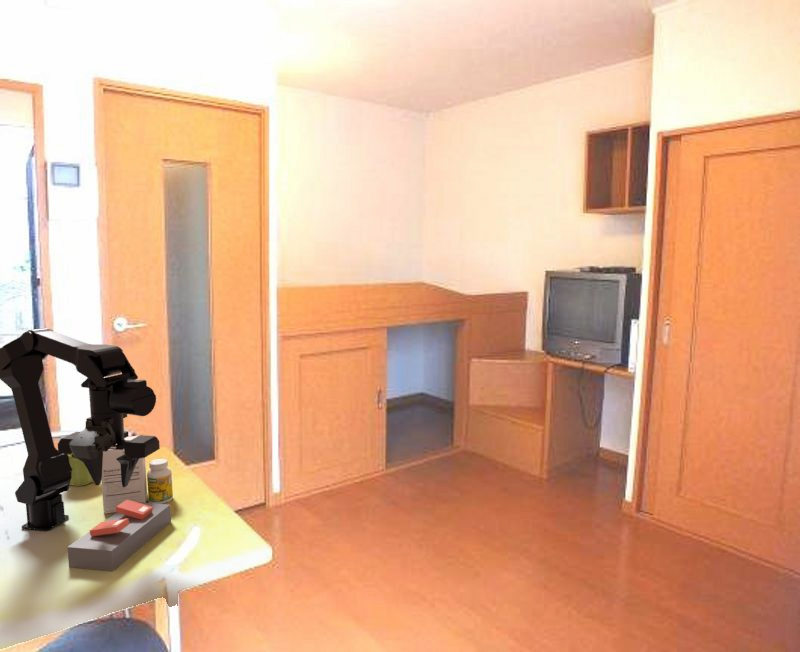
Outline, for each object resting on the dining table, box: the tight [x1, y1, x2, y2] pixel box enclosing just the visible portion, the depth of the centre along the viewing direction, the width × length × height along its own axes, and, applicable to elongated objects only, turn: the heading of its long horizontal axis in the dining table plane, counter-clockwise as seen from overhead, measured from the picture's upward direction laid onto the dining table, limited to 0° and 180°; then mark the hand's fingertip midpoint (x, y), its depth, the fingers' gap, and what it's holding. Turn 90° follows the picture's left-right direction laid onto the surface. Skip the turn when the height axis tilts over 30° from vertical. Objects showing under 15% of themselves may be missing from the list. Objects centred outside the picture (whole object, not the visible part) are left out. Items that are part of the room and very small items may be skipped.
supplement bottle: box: [146, 458, 174, 504], centre depth 138 cm, size 5×5×10 cm
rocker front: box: [88, 518, 130, 536], centre depth 113 cm, size 6×4×1 cm, turn 81°
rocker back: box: [115, 499, 153, 520], centre depth 121 cm, size 6×4×1 cm, turn 81°
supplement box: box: [101, 435, 148, 515], centre depth 135 cm, size 9×9×15 cm
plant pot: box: [67, 453, 94, 487], centre depth 148 cm, size 9×9×9 cm
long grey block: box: [67, 502, 172, 572], centre depth 120 cm, size 9×24×4 cm, turn 171°
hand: (111, 485), depth 117 cm, fingers open, 6 cm apart
